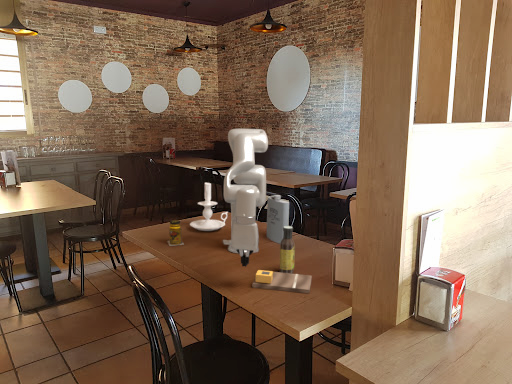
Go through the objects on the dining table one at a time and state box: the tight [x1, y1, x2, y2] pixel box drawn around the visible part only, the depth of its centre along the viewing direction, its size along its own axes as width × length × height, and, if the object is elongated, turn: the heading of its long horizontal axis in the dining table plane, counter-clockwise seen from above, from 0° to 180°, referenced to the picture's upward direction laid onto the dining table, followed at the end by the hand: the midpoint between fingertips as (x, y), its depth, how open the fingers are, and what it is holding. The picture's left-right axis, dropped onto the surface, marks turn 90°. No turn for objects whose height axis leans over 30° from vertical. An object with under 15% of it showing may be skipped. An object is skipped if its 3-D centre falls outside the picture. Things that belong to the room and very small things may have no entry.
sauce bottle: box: [279, 225, 296, 274], centre depth 166 cm, size 6×6×20 cm
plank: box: [251, 271, 313, 294], centre depth 156 cm, size 22×14×2 cm, turn 79°
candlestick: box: [189, 182, 229, 232], centre depth 228 cm, size 21×25×28 cm
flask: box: [265, 194, 290, 245], centre depth 209 cm, size 17×5×25 cm, turn 30°
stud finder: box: [255, 269, 274, 284], centre depth 153 cm, size 6×5×3 cm
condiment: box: [166, 219, 184, 247], centre depth 201 cm, size 7×8×12 cm
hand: (244, 265), depth 154 cm, fingers closed
